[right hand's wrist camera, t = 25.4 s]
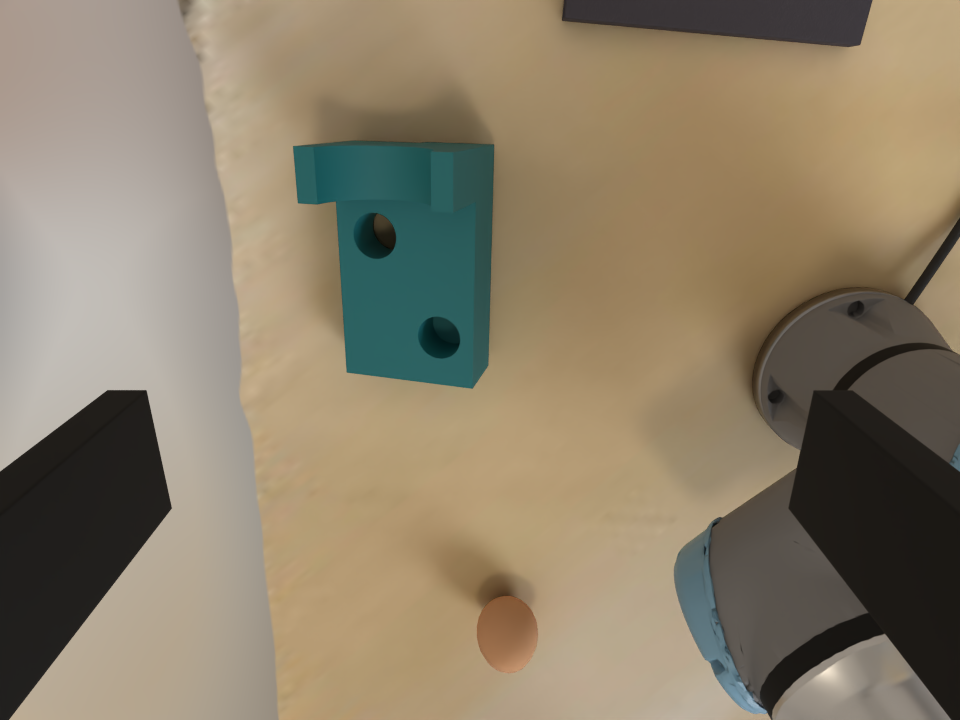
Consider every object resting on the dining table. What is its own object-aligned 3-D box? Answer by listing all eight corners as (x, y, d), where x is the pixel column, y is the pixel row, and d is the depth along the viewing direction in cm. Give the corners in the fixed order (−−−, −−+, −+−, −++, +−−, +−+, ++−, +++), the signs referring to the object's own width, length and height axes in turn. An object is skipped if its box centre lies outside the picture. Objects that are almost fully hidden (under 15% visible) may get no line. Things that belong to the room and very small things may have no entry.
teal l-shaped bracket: (362, 139, 50) (293, 146, 41) (494, 144, 48) (453, 152, 38) (371, 351, 57) (314, 399, 47) (488, 365, 54) (452, 418, 45)
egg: (543, 590, 65) (551, 651, 58) (522, 632, 67) (527, 697, 60) (488, 574, 64) (489, 634, 57) (469, 617, 66) (467, 681, 59)
